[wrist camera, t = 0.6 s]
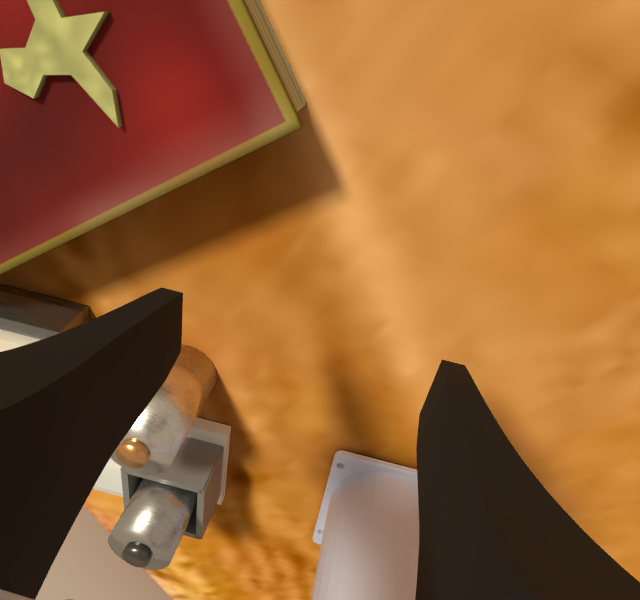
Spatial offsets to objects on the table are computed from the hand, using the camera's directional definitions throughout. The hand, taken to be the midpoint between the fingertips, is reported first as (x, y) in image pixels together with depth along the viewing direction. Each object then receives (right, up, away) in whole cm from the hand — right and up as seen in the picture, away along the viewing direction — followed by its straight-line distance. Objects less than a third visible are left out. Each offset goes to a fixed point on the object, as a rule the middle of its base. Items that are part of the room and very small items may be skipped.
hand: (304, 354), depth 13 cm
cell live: (-7, -3, +15) cm, 17 cm away
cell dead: (-8, -9, +18) cm, 22 cm away
